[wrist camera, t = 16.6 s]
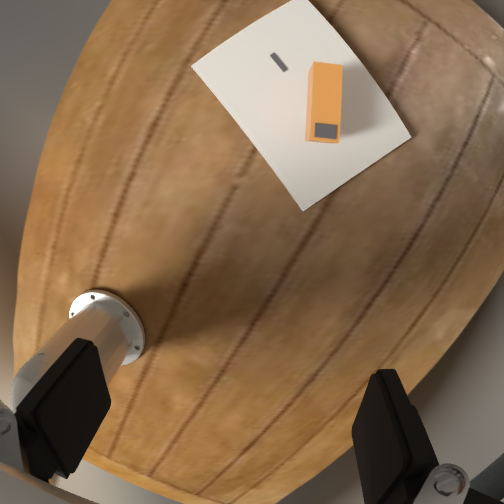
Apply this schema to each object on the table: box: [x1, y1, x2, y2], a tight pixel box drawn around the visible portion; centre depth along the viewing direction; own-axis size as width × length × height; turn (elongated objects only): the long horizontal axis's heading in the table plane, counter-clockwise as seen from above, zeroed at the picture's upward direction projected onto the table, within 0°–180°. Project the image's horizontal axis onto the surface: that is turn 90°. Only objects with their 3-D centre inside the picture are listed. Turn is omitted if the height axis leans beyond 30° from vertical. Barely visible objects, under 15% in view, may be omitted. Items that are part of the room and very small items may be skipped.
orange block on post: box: [305, 62, 343, 144], centre depth 26 cm, size 7×2×5 cm, turn 177°
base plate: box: [191, 0, 411, 211], centre depth 30 cm, size 15×20×4 cm
